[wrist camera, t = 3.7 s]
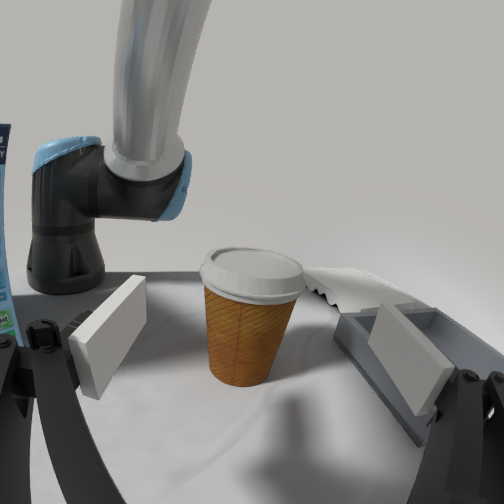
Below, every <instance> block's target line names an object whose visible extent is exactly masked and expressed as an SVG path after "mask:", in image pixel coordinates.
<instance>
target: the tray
mask: <svg viewBox="0 0 504 504" xmlns="http://www.w3.org/2000/svg"><path fill="white" fill-rule="evenodd" d="M399 311H400V312H401V313H402V314H403V315H404V316H405V317H406V318H408V319H409V320H410V321H411V322H412V323H413V324H414V325H415V326H416V327H417V328H418V329H419V330H420V331H421V332H422V333H423V334H424V335H425V336H426V337H427V338H428V339H429V340H430V341H431V342H432V343H433V344H434V345H436V346H437V347H438V348H439V349H440V350H441V351H442V353H444V354H445V355H446V357H448V358H449V359H450V360H451V361H452V362H453V363H454V364H455V365H456V367H457V368H458V369H459V370H461V369H469V370H471V371H474V372H475V373H476V374H477V375H478V376H479V377H480V379H481V380H487V378H488V376H489V374H490V372H492V371H497V372H501V373H503V374H504V356H503V355H502V354H500V353H499V352H498V351H496V350H495V349H494V348H492V347H491V346H490V345H488V344H487V343H486V342H484V341H483V340H481V339H480V338H479V337H477V336H476V335H474V334H473V333H472V332H470V331H469V330H467V329H466V328H465V327H463V326H462V325H460V324H459V323H457V322H456V321H454V320H453V319H451V318H450V317H449V316H447V315H446V314H444V313H443V312H441V311H440V310H438V309H437V308H427V309H414V310H399ZM377 313H378V312H355V313H341V314H340V317H339V321H338V324H337V328H336V331H335V334H334V337H333V339H334V340H335V341H336V343H337V344H338V345H339V346H340V348H341V349H342V350H343V351H344V353H345V354H346V355H347V357H348V358H349V359H350V360H351V362H352V363H353V364H354V365H355V367H356V368H357V369H358V370H359V372H360V373H361V374H362V376H363V377H364V378H365V379H366V381H367V382H368V383H369V384H370V386H371V387H372V388H373V390H374V391H375V392H376V393H377V395H378V396H379V397H380V399H381V400H382V401H383V402H384V404H385V405H386V406H387V408H388V409H389V410H390V411H391V413H392V414H393V415H394V417H395V418H396V419H397V420H398V422H399V423H400V424H401V426H402V427H403V428H404V429H405V431H406V432H407V433H408V435H409V436H410V437H411V439H412V440H413V441H414V442H415V444H416V445H417V446H418V448H419V447H421V446H423V445H425V444H427V440H428V437H429V432H430V427H431V424H432V423H431V424H429V426H428V427H427V426H426V425H427V423H428V422H429V420H430V419H431V417H432V416H433V414H434V413H435V411H436V410H437V407H436V406H435V405H433V406H432V408H431V410H430V411H429V413H428V414H425V415H421V416H415V415H414V413H413V412H412V410H411V408H410V407H409V405H408V404H407V402H406V400H405V399H404V397H403V396H402V394H401V393H400V391H399V390H398V388H397V386H396V385H395V383H394V382H393V380H392V379H391V377H390V376H389V374H388V373H387V371H386V370H385V368H384V367H383V365H382V364H381V362H380V361H379V359H378V358H377V356H376V355H375V353H374V352H373V350H372V349H371V347H370V346H369V344H368V340H369V337H370V334H371V331H372V328H373V326H374V323H375V319H376V316H377Z"/></svg>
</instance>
